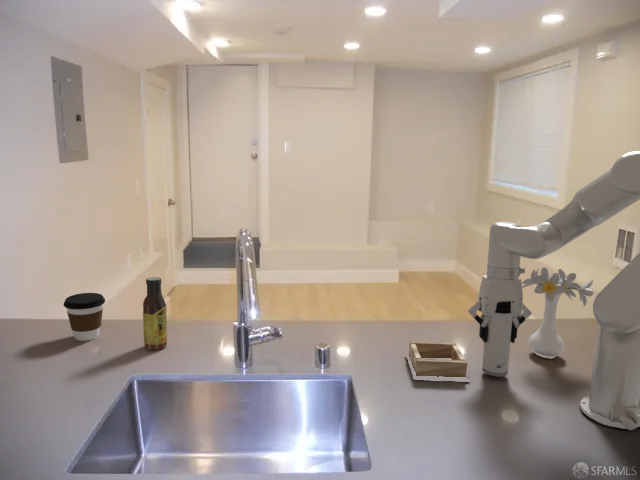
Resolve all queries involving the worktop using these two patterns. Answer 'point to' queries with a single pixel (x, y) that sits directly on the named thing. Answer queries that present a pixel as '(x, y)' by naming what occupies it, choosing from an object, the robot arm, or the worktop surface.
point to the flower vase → (553, 307)
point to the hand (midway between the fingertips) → (497, 340)
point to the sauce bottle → (154, 316)
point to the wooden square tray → (437, 367)
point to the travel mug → (498, 341)
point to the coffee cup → (85, 315)
